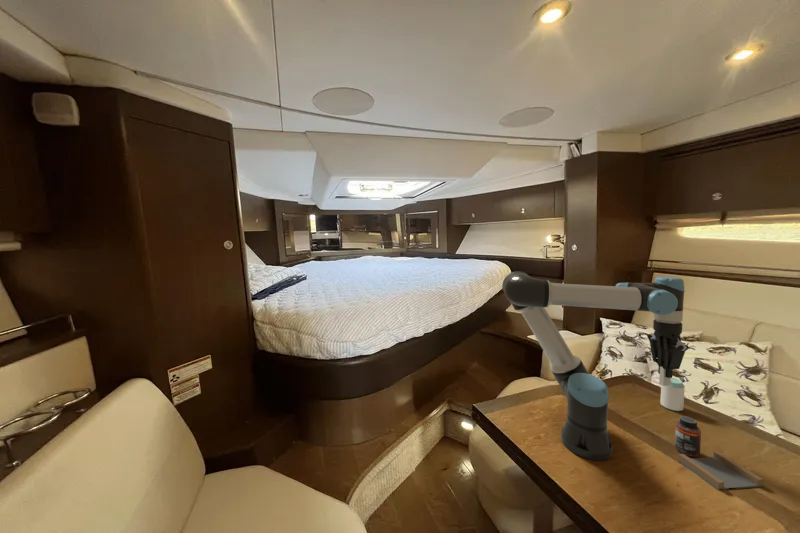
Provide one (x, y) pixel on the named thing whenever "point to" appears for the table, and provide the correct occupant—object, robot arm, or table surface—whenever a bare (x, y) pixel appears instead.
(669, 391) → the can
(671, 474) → the table surface
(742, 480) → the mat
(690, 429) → the supplement bottle
